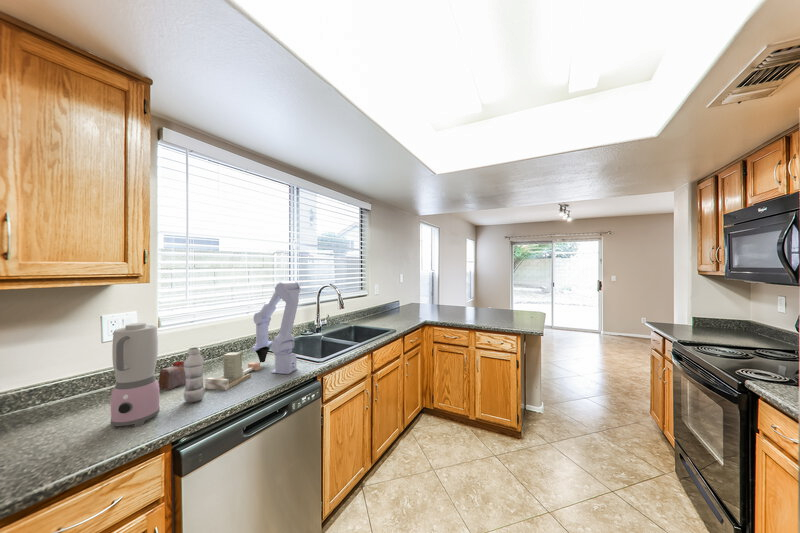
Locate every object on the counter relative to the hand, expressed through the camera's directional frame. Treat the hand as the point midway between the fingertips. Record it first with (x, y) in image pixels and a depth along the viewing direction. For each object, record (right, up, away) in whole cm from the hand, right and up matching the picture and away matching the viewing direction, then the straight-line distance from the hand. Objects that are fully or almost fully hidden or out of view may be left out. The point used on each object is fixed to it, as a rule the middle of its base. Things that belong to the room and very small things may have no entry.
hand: (262, 361), depth 153 cm
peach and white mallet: (-2, -2, -10) cm, 11 cm away
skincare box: (-4, -2, -20) cm, 20 cm away
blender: (-17, -2, -55) cm, 58 cm away
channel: (-4, -2, -21) cm, 22 cm away
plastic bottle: (-7, -2, -40) cm, 41 cm away
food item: (-26, -2, -23) cm, 34 cm away
